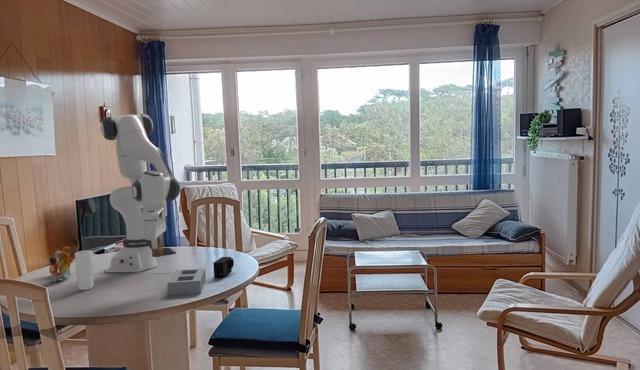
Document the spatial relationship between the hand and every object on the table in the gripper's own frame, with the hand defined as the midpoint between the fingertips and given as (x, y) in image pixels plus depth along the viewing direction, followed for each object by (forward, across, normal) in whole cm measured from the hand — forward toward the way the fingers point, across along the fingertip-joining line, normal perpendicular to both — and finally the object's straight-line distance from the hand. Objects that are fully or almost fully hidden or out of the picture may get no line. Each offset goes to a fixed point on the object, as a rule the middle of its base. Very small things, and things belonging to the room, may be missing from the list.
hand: (156, 246), depth 177 cm
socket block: (+17, 0, +11) cm, 20 cm away
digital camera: (+17, -15, +24) cm, 33 cm away
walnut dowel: (+4, 0, 0) cm, 4 cm away
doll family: (+17, -26, -46) cm, 55 cm away
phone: (+18, -67, -12) cm, 70 cm away
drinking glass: (+17, -6, -30) cm, 35 cm away
